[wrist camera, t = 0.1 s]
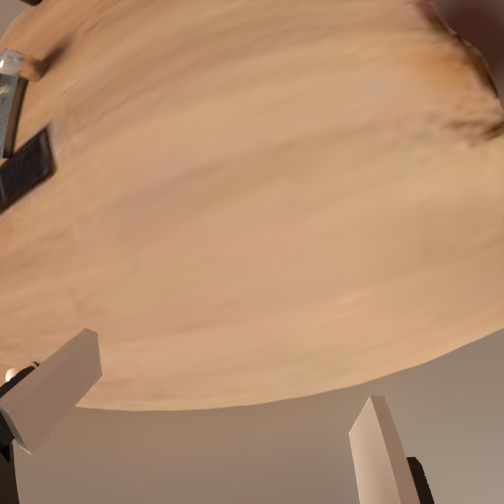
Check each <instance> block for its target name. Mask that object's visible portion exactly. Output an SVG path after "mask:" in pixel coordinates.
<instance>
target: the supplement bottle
mask: <svg viewBox="0 0 504 504" xmlns="http://www.w3.org/2000/svg"><path fill="white" fill-rule="evenodd" d="M20 1H21V2H24V3H26V4H28V5H30V6H36V5H37V4H39V3H40V2H41V1H42V0H20Z"/></svg>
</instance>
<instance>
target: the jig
mask: <svg viewBox="0 0 504 504" xmlns="http://www.w3.org/2000/svg"><path fill="white" fill-rule="evenodd" d="M25 84H26V79H22V78H18V77H14V76H10V75H6V74H2V73H0V106H1V107H0V159H3V158H11V153H12V146H13V139H14V133H15V127H16V122H17V117H18V112H19V108H20V103H21V99H22V95H23V91H24V87H25Z"/></svg>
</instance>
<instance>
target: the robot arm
mask: <svg viewBox="0 0 504 504" xmlns="http://www.w3.org/2000/svg"><path fill="white" fill-rule="evenodd" d="M101 376H102V371H101V363H100V354H99V344H98V333H96V332H94V331H91V330H89V329H86V328H85V329H84V330H83V331H81V332H80V333H79V334H78V335H76V336H75V337H74V338H72V339H71V340H70V341H69V342H67V343H66V344H65V345H64V346H62V347H61V348H60V349H59V350H58V351H56V352H55V353H54V354H53V355H51V356H50V357H49V358H48V359H46V360H45V361H44V362H43V363H42V364H40V365H39V366H38V367H37V368H35V367H33V366H29V367H27V368H24V369H22V370H21V371H19V372H18V373H17V374H16V375H15V377H14V376H13V377H12V378H11V379H10V380H9V381H7V382H6V383H5V384H4V385H2V386H1V387H0V504H19V499H18V492H17V485H16V477H15V468H14V455H13V454H14V453H13V445H12V440H13V439H14V438H15V439H16V441H17V443H18V445H19V446H20V447H21V448H23V449H24V450H25V451H26V452H28V453H29V454H30V455H33V454H34V452H35V451H36V450H37V449H38V448H39V447H40V445H41V444H42V443H43V442H44V441H45V439H46V438H47V437H48V436H49V435H50V434H51V432H52V431H53V430H54V429H55V428H56V427H57V425H58V424H59V423H60V422H61V421H62V420H63V419H64V417H65V416H66V415H67V414H68V413H69V412H70V411H71V410H72V408H73V407H74V406H75V405H76V404H77V403H78V402H79V401H80V399H81V398H82V397H83V396H84V395H85V394H86V393H87V392H88V390H89V389H90V388H91V387H92V386H93V385H94V384H95V383H96V382H97V380H98V379H99V378H100V377H101ZM349 438H350V443H351V449H352V454H353V460H354V466H355V473H356V478H357V485H358V492H359V499H360V504H434V501H433V497H432V494H431V491H430V488H429V485H428V484H427V479H426V476H424V475H425V474H424V471H423V468H422V465H421V464H420V462H419V461H418V460H417V459H416V458H415V457H407V458H406V456H405V453H404V450H403V447H402V444H401V441H400V438H399V435H398V432H397V430H396V427H395V424H394V421H393V418H392V416H391V413H390V410H389V408H388V405H387V403H386V400H385V397H384V396H372V395H370V397H369V399H368V401H367V402H366V404H365V406H364V408H363V409H362V411H361V413H360V415H359V417H358V418H357V420H356V422H355V424H354V425H353V427H352V429H351V430H350V432H349Z"/></svg>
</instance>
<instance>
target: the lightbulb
mask: <svg viewBox="0 0 504 504" xmlns="http://www.w3.org/2000/svg"><path fill="white" fill-rule="evenodd" d="M29 366H33V367H35V368H37V365H36V364H35V363H34V362H31V363H29V364H28V365H27V366H24V367H21V368H18V367H13V368H11V369H9V370H8V371H7V373H6V382H7V381H9V380H10V379H11V378H12V377H13V376H14V377H15V375H16V374H17V373H18V372H19V371H21V370H22V369H24V368H27V367H29Z"/></svg>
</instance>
